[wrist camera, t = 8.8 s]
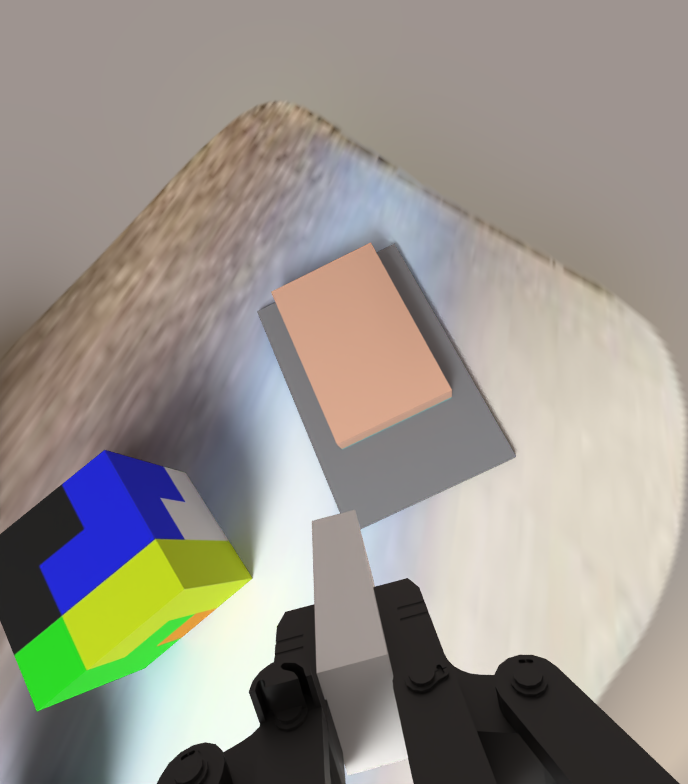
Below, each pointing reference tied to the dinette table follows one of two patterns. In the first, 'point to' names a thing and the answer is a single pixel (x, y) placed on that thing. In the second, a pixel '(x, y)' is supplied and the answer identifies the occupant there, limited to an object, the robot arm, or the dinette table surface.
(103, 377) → the dinette table surface
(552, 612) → the dinette table surface
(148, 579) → the puzzle toy
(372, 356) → the tile
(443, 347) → the mat
